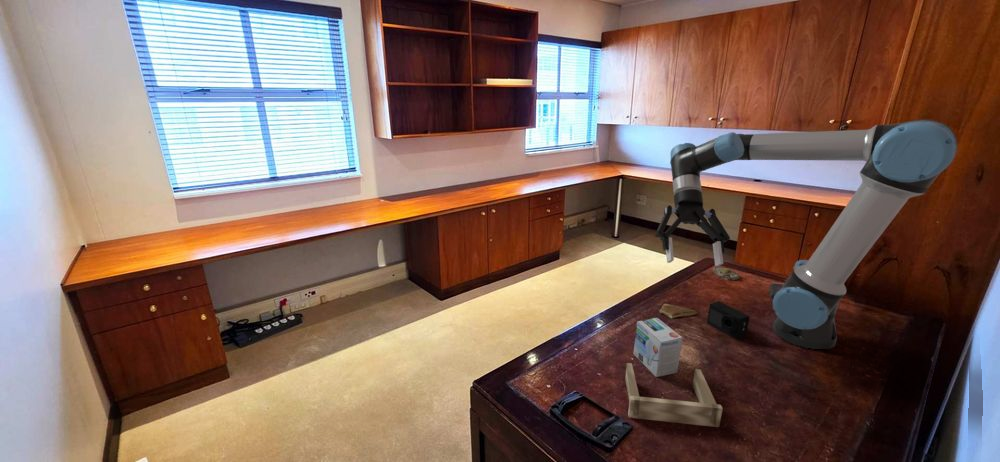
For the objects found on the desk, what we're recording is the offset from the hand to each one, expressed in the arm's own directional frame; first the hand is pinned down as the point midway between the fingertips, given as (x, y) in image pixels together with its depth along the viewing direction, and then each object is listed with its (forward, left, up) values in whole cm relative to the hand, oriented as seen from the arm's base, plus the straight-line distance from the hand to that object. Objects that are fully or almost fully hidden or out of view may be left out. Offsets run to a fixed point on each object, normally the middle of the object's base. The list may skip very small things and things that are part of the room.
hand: (694, 263), depth 111 cm
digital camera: (-14, -8, -25) cm, 30 cm away
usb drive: (-41, -36, -25) cm, 60 cm away
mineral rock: (-28, -50, -25) cm, 63 cm away
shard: (-2, -18, -26) cm, 31 cm away
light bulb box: (+10, +12, -25) cm, 30 cm away
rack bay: (+10, +26, -25) cm, 37 cm away
